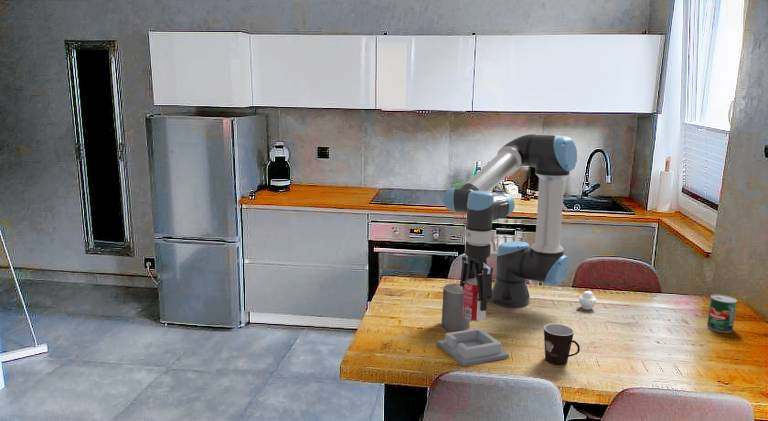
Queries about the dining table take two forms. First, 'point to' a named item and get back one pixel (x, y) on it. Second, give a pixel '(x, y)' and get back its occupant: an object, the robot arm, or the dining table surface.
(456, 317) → the pillar candle
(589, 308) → the white lidded jar
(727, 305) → the canned tomato
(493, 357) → the pocket board
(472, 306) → the soda can
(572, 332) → the coffee mug
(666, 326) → the dining table surface
